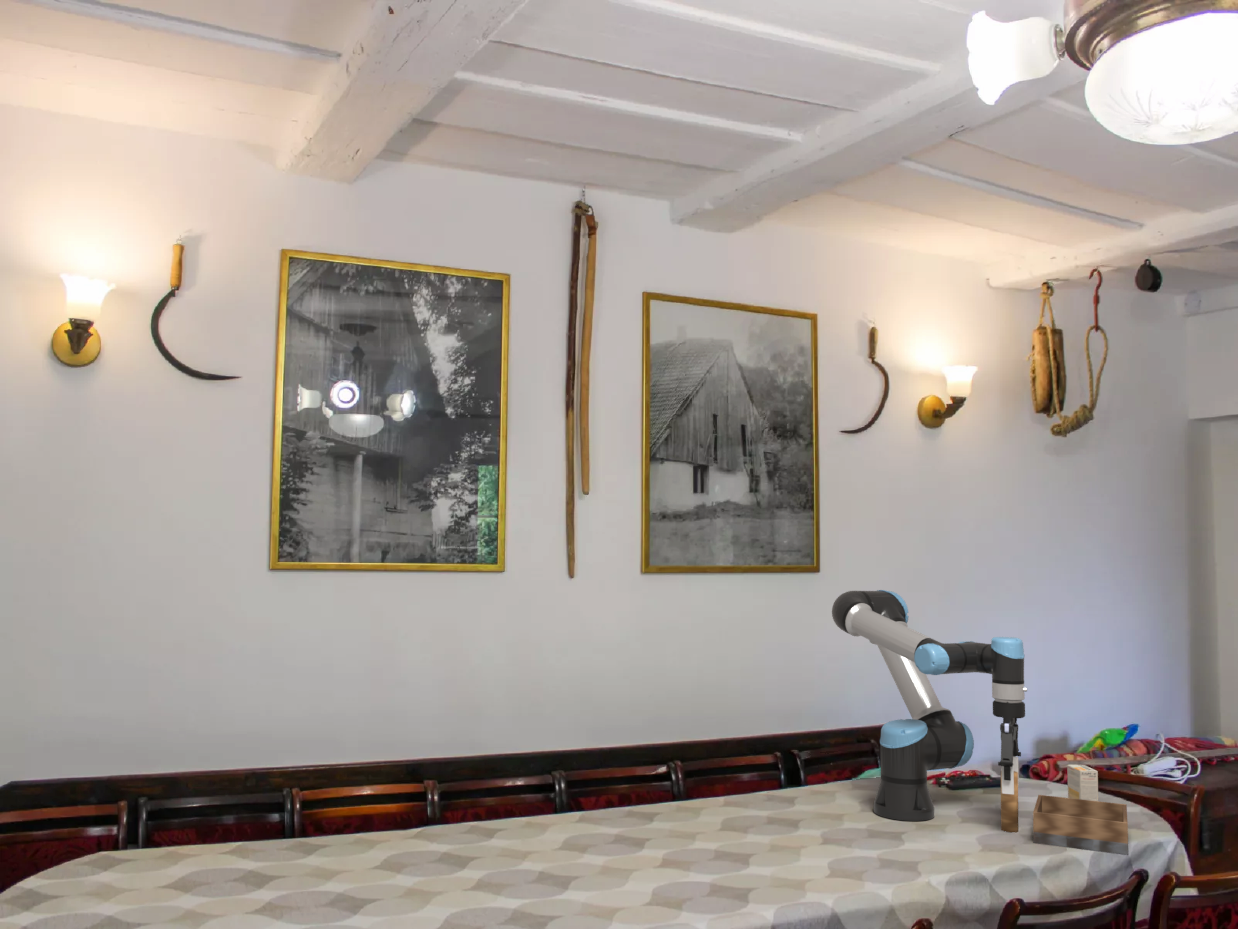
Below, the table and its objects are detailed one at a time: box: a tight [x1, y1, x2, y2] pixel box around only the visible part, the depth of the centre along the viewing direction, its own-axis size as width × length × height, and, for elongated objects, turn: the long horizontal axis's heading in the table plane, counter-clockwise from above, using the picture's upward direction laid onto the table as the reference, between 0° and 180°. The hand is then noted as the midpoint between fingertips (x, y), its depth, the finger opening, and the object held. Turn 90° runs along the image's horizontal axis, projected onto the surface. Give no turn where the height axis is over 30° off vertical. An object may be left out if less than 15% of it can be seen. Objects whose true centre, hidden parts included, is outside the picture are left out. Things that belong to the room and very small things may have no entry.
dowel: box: [1000, 771, 1019, 833], centre depth 256 cm, size 4×4×14 cm
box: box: [1032, 794, 1129, 856], centre depth 249 cm, size 20×20×7 cm
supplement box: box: [1066, 764, 1099, 801], centre depth 268 cm, size 8×5×13 cm, turn 179°
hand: (1010, 788), depth 256 cm, fingers open, 13 cm apart
